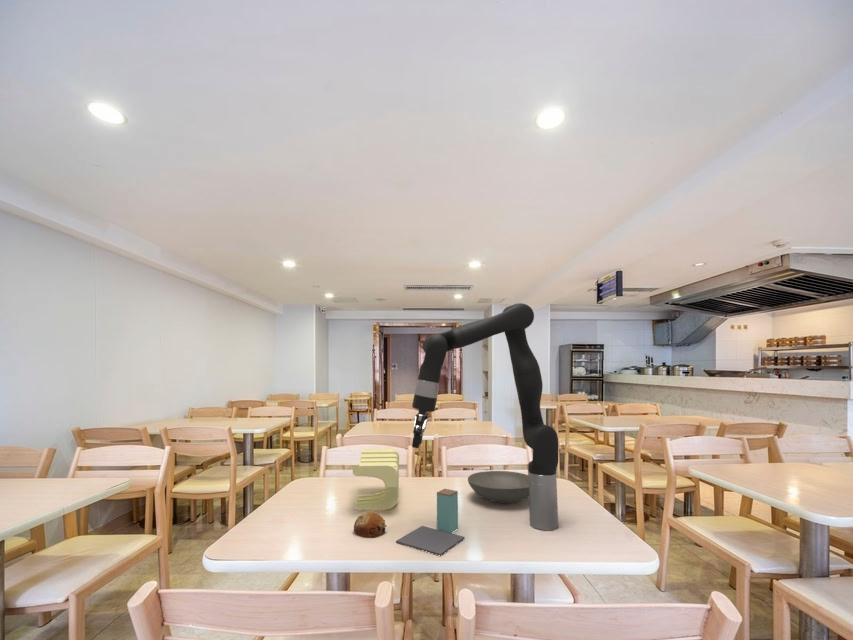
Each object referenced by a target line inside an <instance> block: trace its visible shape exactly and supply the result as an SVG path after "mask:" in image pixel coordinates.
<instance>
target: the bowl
mask: <svg viewBox="0 0 853 640" xmlns="http://www.w3.org/2000/svg"><path fill="white" fill-rule="evenodd" d="M467 483H468V485H469V486H470V488H471V489H472V490H473V492H474V493H475V494H477V495H478V496H479V497H481V498H482V499H484V500H486V501H491V502H494V503H498V504H499V503H500V504H515V503H519V502H521V501H524V500H526V499H529V480H528V474H526V473H522V472H517V471H516V472H515V471H507V470H488V471H478V472H475V473H472V474H470V475H469V476H468V477H467Z"/></svg>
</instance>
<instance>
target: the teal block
mask: <svg viewBox="0 0 853 640" xmlns="http://www.w3.org/2000/svg"><path fill="white" fill-rule="evenodd" d="M458 493H459V492H458V490H454V489H449V488H443V489H442V490H439V491H437V492H436V529H437V530H441V531H445V532H448V533H452V532H453V531H455V530H456V529H457V530H459V503H458V502H459V501H458V498H459V497H458V495H459V494H458ZM457 530H456V531H457ZM456 531H455V532H456ZM453 533H454V532H453ZM453 533H452V534H453Z"/></svg>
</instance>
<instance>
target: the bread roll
mask: <svg viewBox="0 0 853 640" xmlns="http://www.w3.org/2000/svg"><path fill="white" fill-rule="evenodd" d="M387 527H388V526H387V525H386V521H385V519H384V518H383V516H382V515H381V514H379V513H378V512H377V511H373V510H369V511H366V512H363V513H362V514H360V515H358V516H357V518H356V519H355V522H354V525H353V532H354V534H355V535H356V536H358V537H362V538H368V539H370V538H373V539H374V538H378V537H380V536H382V535H383V534H385V532H386V528H387Z"/></svg>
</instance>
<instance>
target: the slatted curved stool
mask: <svg viewBox="0 0 853 640" xmlns="http://www.w3.org/2000/svg"><path fill="white" fill-rule="evenodd" d="M358 464H359V465H354V466H353V465H352V475H353V476H355V477H368V478H376V479H378V480H381V481H382V482H383V484H384V487H385V488H386V489H384V490H383V491H379V492H375V493H366V494H365V493H364V494H358V496H357V499H356V502H355V508H354V510H355V509H375V510H390V509H393V508H394V507H395V506H396V505H397V503H398V500H399V490H400V487H399V478H400V475H399V474H400V473H399V471H400V453H398V451H397V450H396V449H394V448H362V449H361V454H360V460H359V463H358Z"/></svg>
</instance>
